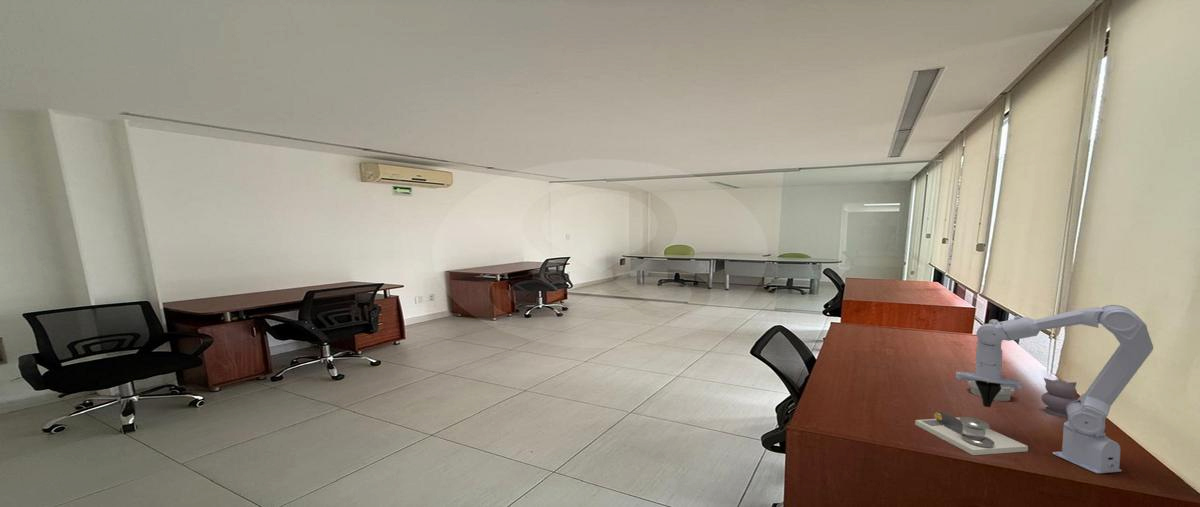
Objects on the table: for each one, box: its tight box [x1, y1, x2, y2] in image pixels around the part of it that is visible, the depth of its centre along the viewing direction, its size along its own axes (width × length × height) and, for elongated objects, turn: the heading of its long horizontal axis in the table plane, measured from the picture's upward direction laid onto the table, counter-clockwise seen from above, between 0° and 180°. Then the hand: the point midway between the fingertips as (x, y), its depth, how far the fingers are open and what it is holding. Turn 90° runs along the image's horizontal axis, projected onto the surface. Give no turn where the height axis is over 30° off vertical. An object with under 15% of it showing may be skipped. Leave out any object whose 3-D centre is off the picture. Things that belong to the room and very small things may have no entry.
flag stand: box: [967, 318, 1016, 402], centre depth 152 cm, size 13×13×30 cm
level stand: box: [914, 417, 1029, 456], centre depth 121 cm, size 18×18×2 cm
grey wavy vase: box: [1040, 377, 1078, 419], centre depth 136 cm, size 8×8×12 cm
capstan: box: [934, 410, 994, 447], centre depth 120 cm, size 17×7×5 cm, turn 5°
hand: (986, 405), depth 122 cm, fingers closed
